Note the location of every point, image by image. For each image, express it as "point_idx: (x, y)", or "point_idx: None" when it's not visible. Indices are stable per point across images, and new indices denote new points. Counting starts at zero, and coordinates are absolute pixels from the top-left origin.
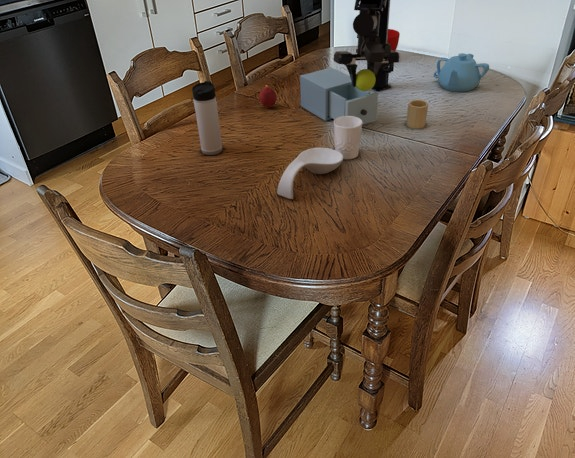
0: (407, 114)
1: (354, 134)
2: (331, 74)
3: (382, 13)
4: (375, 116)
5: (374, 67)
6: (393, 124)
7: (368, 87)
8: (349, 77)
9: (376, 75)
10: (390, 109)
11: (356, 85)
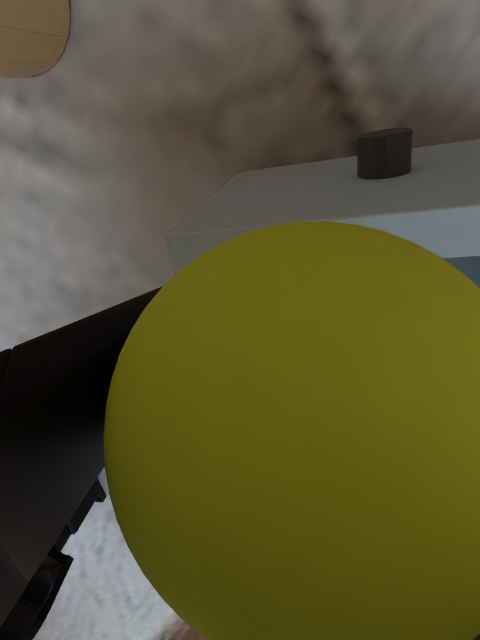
0: (14, 20)
1: None
2: None
3: None
4: (241, 177)
5: (12, 585)
6: (148, 87)
7: (354, 224)
8: None
9: (74, 386)
10: (89, 283)
11: None
